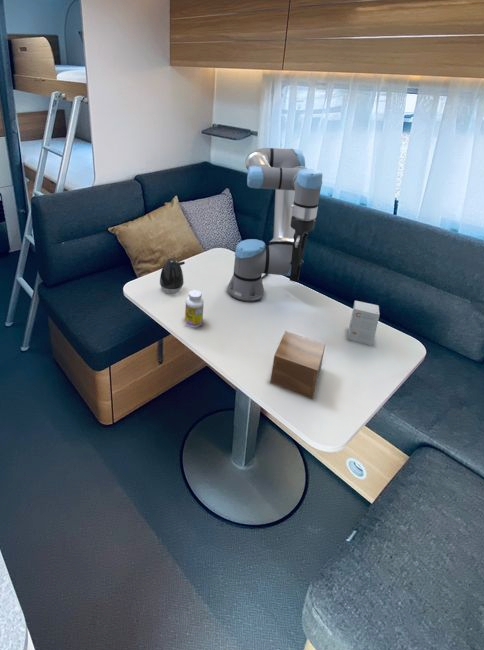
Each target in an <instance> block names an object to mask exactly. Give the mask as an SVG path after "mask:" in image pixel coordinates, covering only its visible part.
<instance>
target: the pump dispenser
mask: <svg viewBox="0 0 484 650" xmlns="http://www.w3.org/2000/svg"><path fill="white" fill-rule="evenodd" d="M185 264H186V262H185V261H178V259H177V258H176V257H175V258H174V257H170V258H167V260H166V261H165V262H164V264H163V266H162V268H161V272H160V276H159V285H160V287H161V289H162V290H163V292H164V293H167V294H176V293H179V292H180V291H181V290H182V288H183V286H184V283H185V282H184V274H183V269H182V266H183V265H185Z"/></svg>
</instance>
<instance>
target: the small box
mask: <svg viewBox="0 0 484 650" xmlns="http://www.w3.org/2000/svg"><path fill="white" fill-rule="evenodd" d="M379 319H380V306H379V305H378V304H373V303H368V302H364V301H359V300H354V302H353V307H352V312H351V317H350V322H349V327H348V340H349V341H354V342H357V343H361V344H366V345H369V346H373V344H374V340H375V337H376V333H377V328H378V323H379Z"/></svg>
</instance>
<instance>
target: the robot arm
mask: <svg viewBox="0 0 484 650" xmlns="http://www.w3.org/2000/svg"><path fill="white" fill-rule="evenodd" d="M305 158H306V157H305V154H304V153H303V151H302V150H301V149H294V148H277V147H276V148H275V147H262V148H257V149H255V150H253V151H251V152H250V153H248V155H247V157H246V159H245V162H244V163H245V167H246V170H247V177H246V185H247V187H248V188H250V189H251V188H252V189H257V190H259V189H262V190H263V189H264V190H275V191H274V193H275V194H274V216H273V237H272V239H271V240H270V241H269V243H268V245H266V243H265V242H264V240H261V239H260V240H259V239H256V238H251V239H250V238H249V239H248V238H247V239H244V240H241V241H239V242H238V243H237V244H236V247H235V252H234V266H233V274H232V276H231V279H230V281H229V282H228V285H227V293H228V295H229V296H230V297H232V298H233V299H235V300H238V301H240V302H245V303H254V302H258V301H260V300H261V299H263V298H264V294H265V287H264V284H263V279H264V278H266V277H267V276H268V275H274V276H275V275H276V276H283V277H284V276H285V277H289V281H290V282H294V283H299V279H300V272H301V267H302V265H303V264H304V262H305V261H304V260H303V259H304V254H305V248H306V244H307V239H308V236H309V233H310V232H312V231H314V230H315V226H316V221H317V220H316V218H317V215H318V209H319V202H320V201H319V200H320V196H321V189H322V186H323V173H322V172H321V171H320V170H318V169H314V168H307V167H306V159H305ZM262 275H263V276H262Z"/></svg>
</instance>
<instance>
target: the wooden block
mask: <svg viewBox="0 0 484 650" xmlns="http://www.w3.org/2000/svg"><path fill="white" fill-rule="evenodd" d="M325 348H326V343H324V342H321V341H318V340H315V339H311V338H308V337H305V336H302V335H299V334H295V333H293V332H289V331H286V330H285V331H284V333H283V335H282V337H281V339H280V342H279V343H278V346H277V349H276V351H275V353H274V356H273V361H272V362H273V363H272V368H271V374H270V375H271V376H270V382H269V384H271V385H274V386H277V387H280V388H281V389H285V390H287V391H289V392H293V393H295V394H298V395H301V396H303V397H306V398H308V399H311V400H313V398H314V395H315V392H316V388H317V384H318V381H319V378H320V373H321V371H322V364H323V358H324V354H325V350H326V349H325Z"/></svg>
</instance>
